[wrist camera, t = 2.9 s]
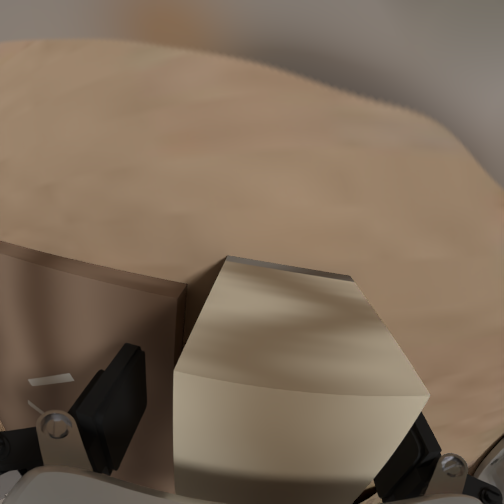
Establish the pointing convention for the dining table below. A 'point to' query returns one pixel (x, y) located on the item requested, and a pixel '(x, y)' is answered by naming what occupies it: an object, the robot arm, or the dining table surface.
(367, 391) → the cream carton
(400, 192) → the dining table surface
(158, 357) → the walnut board
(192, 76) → the dining table surface
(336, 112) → the dining table surface
